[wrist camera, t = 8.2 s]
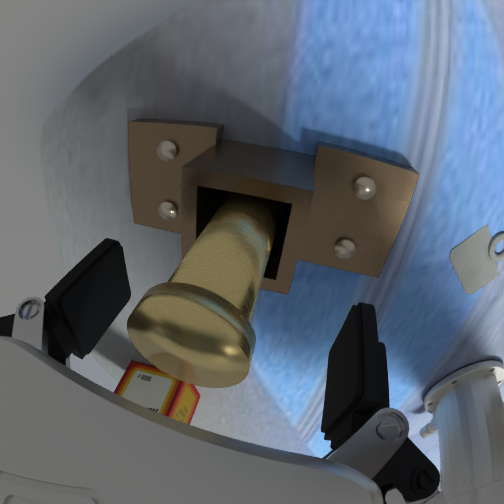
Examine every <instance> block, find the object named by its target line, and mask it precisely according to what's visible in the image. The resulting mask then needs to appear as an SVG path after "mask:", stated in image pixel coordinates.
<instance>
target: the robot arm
mask: <svg viewBox="0 0 504 504" xmlns="http://www.w3.org/2000/svg"><path fill="white" fill-rule="evenodd" d="M130 297H131V291H130V286H129V281H128V275H127V270H126V264H125V259H124V253H123V247H122V246H121V245H120V243H119V241H116V240H112V239H109V238H106V239H104V240H103V241H102V242H101V243H100V244H99V245H98V246H96V247H95V248H94V249H93V250H92V251H91V252H90V253H89V254H88V255H87V256H85V257H84V258H83V259H82V260H81V261H80V262H79V263H78V264H77V265H76V266H75V267H74V268H73V269H72V270H71V271H69V272H68V273H67V274H66V275H65V276H64V277H63V278H62V279H61V280H60V281H59V282H58V283H57V284H56V286H54V287H53V288H52V289H51V290H50V291H49V292H48V293H47V294H46V296H45V299H46V301H45V302H43V301H42V300H41V299H40V298H38V297H30V298H27V299H25V300H23V301H22V302H21V303H20V304H19V306H18V307H17V309H16V312H15V314H12V315H8V316H4V317H0V504H504V406H503V402H502V397H501V393H500V389H499V386H500V385H501V383H502V382H503V380H504V365H503V364H502V363H501V362H499V361H494V360H490V361H483V362H478V363H475V364H472V365H469V366H467V367H464V368H462V369H460V370H458V371H456V372H454V373H452V374H450V375H449V376H447V377H445V378H444V379H442V380H441V381H440V382H438V383H437V384H436V385H435V386H433V387H432V388H431V390H430V391H429V392H428V393H427V395H426V396H425V399H424V407H425V410H426V411H427V412H429V413H432V414H433V418H432V420H431V422H430V423H428V424H427V425H426V426H424V427H423V428H421V430H420V435H421V437H423V438H426V437H428V436H430V435H431V434H433V433H434V432H438V435H439V449H440V474H439V471H438V469H437V468H436V466H435V465H434V464H433V463H432V462H431V461H430V460H429V459H428V458H427V457H426V456H425V455H424V454H423V453H422V452H421V451H420V450H419V448H418V447H417V446H416V445H415V444H414V443H413V442H412V441H411V440H410V439H409V438H408V437H407V436H408V433H409V423H408V421H407V418H406V417H405V416H404V414H403V413H402V412H400V411H399V410H397V409H394V408H390V406H389V384H388V369H387V357H386V348H385V345H384V343H382V342H378V332H377V322H376V313H375V307H374V305H370V304H366V303H361V302H359V303H358V305H357V306H356V305H353V306H352V308H351V310H350V312H349V314H348V316H347V318H346V320H345V322H344V324H343V326H342V328H341V330H340V332H339V334H338V336H337V338H336V340H335V342H334V343H333V345H332V347H331V349H330V352H329V357H328V369H327V380H326V390H325V400H324V408H323V417H322V424H321V432H323V433H325V436H324V440H331V446H330V447H331V448H332V450H331V451H330V452H329V453H327V454H326V455H325V456H324V457H323V458H318V457H313V456H308V455H303V454H298V453H293V452H288V451H283V450H278V449H273V448H269V447H265V446H260V445H256V444H252V443H248V442H244V441H240V440H237V439H233V438H229V437H226V436H222V435H219V434H216V433H213V432H209V431H206V430H203V429H200V428H197V427H194V426H191V425H189V424H186V423H183V422H180V421H178V420H175V419H172V418H170V417H167V416H165V415H162V414H160V413H157V412H155V411H152V410H150V409H148V408H145V407H143V406H141V405H139V404H136V403H134V402H132V401H130V400H128V399H126V398H123V397H121V396H119V395H117V394H115V393H113V392H111V391H109V390H107V389H105V388H103V387H102V386H100V385H98V384H96V383H94V382H92V381H90V380H89V379H87V378H85V377H83V376H81V375H80V374H78V373H76V372H75V371H73V370H71V368H70V355H71V353H73V354H74V355H75V356H77V357H79V358H80V359H83V358H84V356H85V355H87V354H89V353H90V352H91V351H92V349H93V348H94V347H95V345H96V344H97V342H98V341H99V340H100V338H101V337H102V336H103V334H104V333H105V332H106V330H107V329H108V327H109V326H110V325H111V323H112V322H113V321H114V319H115V318H116V317H117V316H118V314H119V313H120V312H121V310H122V309H123V308H124V306H125V305H126V304H127V303H128V301H129V300H130ZM440 477H441V487H440V488H441V490H440V491H439V490H438V486H439V482H440Z"/></svg>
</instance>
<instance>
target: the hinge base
mask: <svg viewBox="0 0 504 504" xmlns="http://www.w3.org/2000/svg"><path fill="white" fill-rule="evenodd" d="M222 131H223V125H220V124H211V123H200V122H189V121H175V120H157V119H136V120H133V121H130V122H128V137H129V166H130V183H131V196H132V208H133V218H134V223H135V224H140V225H144V226H149V227H153V228H158V229H162V230H167V231H171V232H176V233H180V234H182V260H183V259H184V257H185V256H186V254H187V253H188V251H189V250H190V248H191V247H192V246H193V244H194V243H195V241H196V240H197V238H198V237H199V236H200V234H201V233H202V231H203V230H204V229H205V227H206V226H207V224H208V223H209V222H210V220H211V219H212V217H213V216H214V215H215V213H216V212H217V211H218V209H219V208H220V206H221V205H222V204H223V202H224V201H225V200H226V198H227V197H228V195H229V191H231V192H236V193H242V194H247V195H252V196H257V197H262V198H267V199H272V200H277V201H281V202H286V203H291V204H292V209H291V213H290V218H289V223H288V225H284V224H280V223H279V224H278V228H277V231H276V235H275V238H274V241H273V245H272V248H271V252H270V255H269V259H268V262H267V265H266V269H265V272H264V276H263V279H262V282H261V286H260V288H261V289H265V290H270V291H274V292H278V293H283V294H287V295H288V292H289V289H290V285H291V281H292V278H293V274H294V270H295V267H296V263H297V260H302V261H306V262H310V263H315V264H319V265H324V266H328V267H333V268H337V269H342V270H346V271H350V272H355V273H359V274H364V275H368V276H373V277H377V278H378V277H379V275H380V273H381V271H382V269H383V267H384V265H385V262H386V260H387V258H388V256H389V253H390V251H391V249H392V247H393V244H394V242H395V239H396V237H397V235H398V232H399V230H400V227H401V225H402V222H403V220H404V217H405V215H406V212H407V209H408V207H409V204H410V201H411V198H412V196H413V193H414V190H415V187H416V184H417V181H418V178H419V175H420V174H419V173H418V172H417V171H416V170H415V169H414V168H411V167H408V166H405V165H402V164H399V163H396V162H393V161H390V160H387V159H383V158H380V157H377V156H373V155H370V154H366V153H363V152H359V151H356V150H352V149H348V148H344V147H340V146H336V145H332V144H328V143H324V142H318V147H317V152H316V156H311V155H307V154H302V153H297V152H292V151H287V150H282V149H277V148H272V147H266V146H260V145H254V144H248V143H242V142H235V141H228V140H222Z"/></svg>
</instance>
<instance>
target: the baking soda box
mask: <svg viewBox="0 0 504 504" xmlns="http://www.w3.org/2000/svg"><path fill="white" fill-rule="evenodd" d="M114 393H115V394H117V395H119V396H121V397H123V398H126V399H128V400H130V401H132V402H134V403H136V404H139V405H141V406H143V407H145V408H148V409H150V410H152V411H155V412H157V413H160V414H162V415H165V416H167V417H170V418H172V419H175V420H178V421H180V422H183V423H186V424H189V425H190V422H191V420H192V417H193V414H194V412H195V409H196V407H197V404H198V401H199V399H200V394H199V392H198V391H197V389H196V387H195V386H194V385H193V384H190V383H187V382H184V381H181V380H179V379H176V378H174V377H172V376H170V375H168V374H166V373H165V372H163V371H161V370H160V369H158V368H157V367H155V366H152V365H147V364H143V363H139V362H135V361H131V362H130V364H129V366H128V368H127V369H126V371H125V373H124V375H123V376H122V378H121V380H120V382H119V384H118V386H117V387H116V389H115V391H114Z"/></svg>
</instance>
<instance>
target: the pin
mask: <svg viewBox="0 0 504 504" xmlns="http://www.w3.org/2000/svg"><path fill="white" fill-rule="evenodd" d="M284 203H285V202H281V201H277V200H272V199H267V198H262V197H257V196H252V195H247V194H242V193H236V192H231V193H230V194H229V196H228V197H227V198H226V200H225V201H224V202H223V204H222V205H221V206H220V208H219V209H218V211H217V212H216V213H215V215H214V216H213V217H212V219H211V220H210V222H209V223H208V224H207V226H206V227H205V229H204V230H203V231H202V233H201V234H200V236H199V237H198V238H197V240H196V241H195V243H194V244H193V246H192V247H191V248H190V250H189V251H188V253H187V254H186V256H185V257H184V259H183V260H182V261H181V263H180V264H179V266H178V267H177V269H176V270H175V272H174V273H173V275H172V276H171V278H170V279H169V281H168V282H167V283H162V284H158V285H156V286H154V287H152V288H150V289H149V290H148V291H147V292H146V293H145V294H144V296H143V297H142V299H141V300H140V301H139V303H138V304H137V306H136V307H135V309H134V310H133V312H132V313H131V315H130V316H129V318H128V321H127V330H128V334H129V337H130V339H131V341H132V343H133V344H134V346H135V347H136V349H137V350H138V351H139V352H140V353H141V354H142V355H143V356H144V357H145V358H146V359H147V360H148V361H149V362H150V363H151V364H153V365H154V366H155V367H157V368H158V369H160V370H161V371H163V372H165V373H166V374H168V375H170V376H172V377H174V378H176V379H179V380H181V381H184V382H187V383H190V384H193V385H197V386H202V387H209V388H224V387H230V386H234V385H236V384H238V383H240V382H242V381H243V380H244V379H245V378H246V376H247V374H248V371H249V368H250V364H251V360H252V357H253V353H254V349H255V345H256V337H255V333H254V330H253V328H252V326H251V324H250V319H251V316H252V312H253V309H254V306H255V303H256V299H257V296H258V292H259V289H260V286H261V282H262V279H263V276H264V272H265V269H266V265H267V262H268V259H269V255H270V252H271V248H272V245H273V241H274V238H275V235H276V231H277V228H278V224H279V221H280V217H281V214H282V210H283V206H284Z"/></svg>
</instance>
